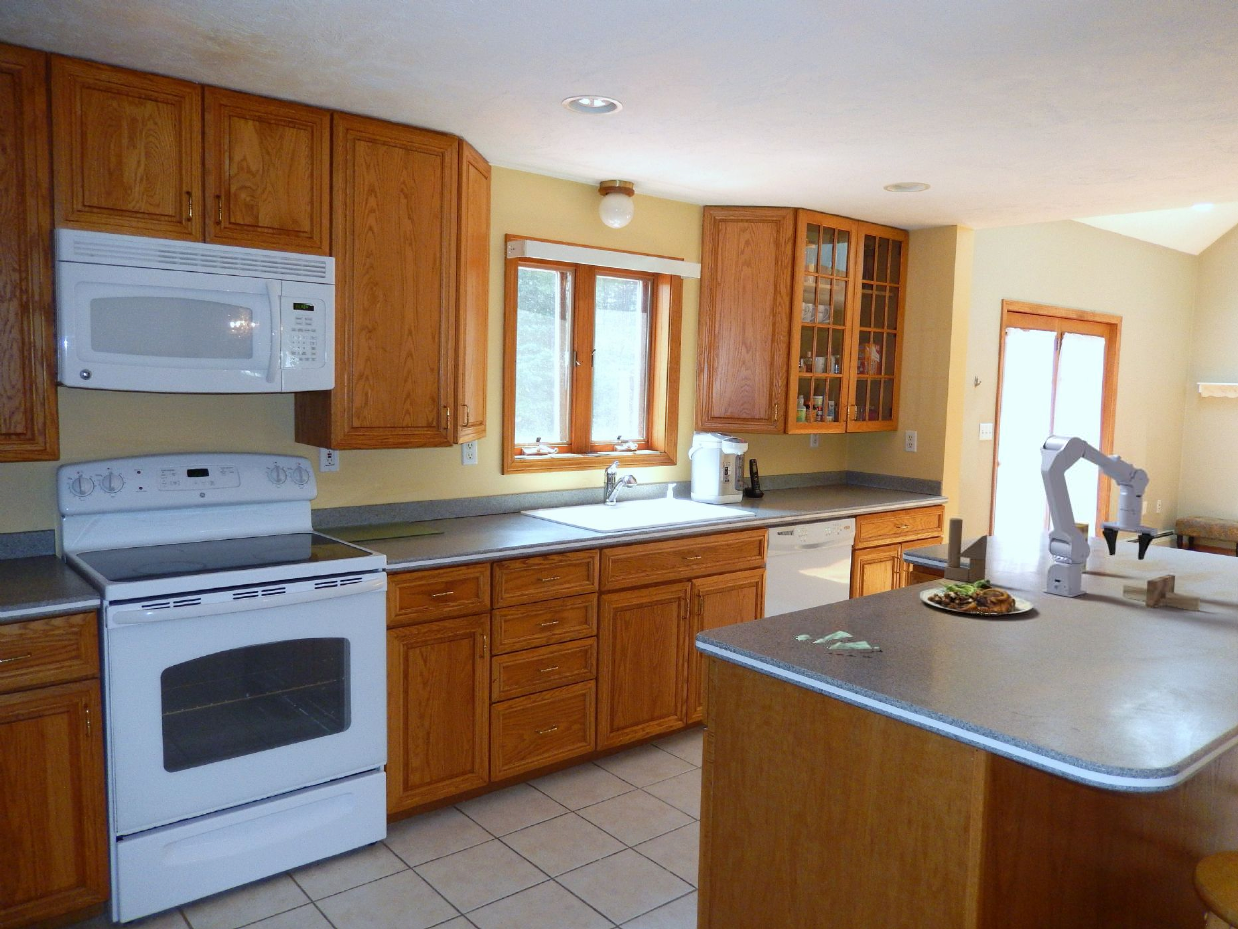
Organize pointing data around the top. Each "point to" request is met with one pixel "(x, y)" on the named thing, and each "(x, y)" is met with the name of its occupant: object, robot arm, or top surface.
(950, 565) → the wooden block
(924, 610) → the top surface
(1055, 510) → the robot arm
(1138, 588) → the birch board
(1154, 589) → the wooden plank
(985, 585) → the plate of food
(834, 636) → the cloth
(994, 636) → the top surface
